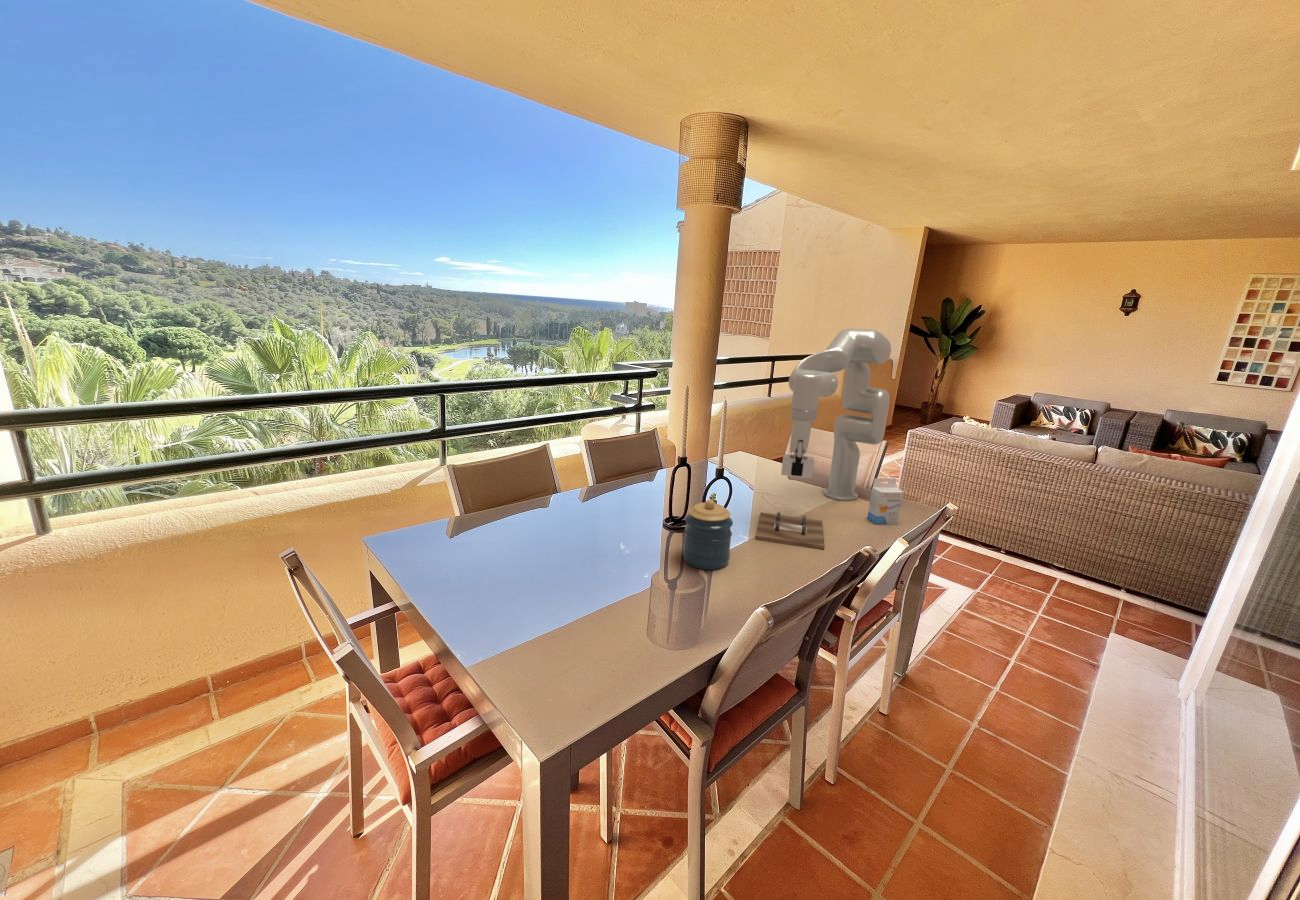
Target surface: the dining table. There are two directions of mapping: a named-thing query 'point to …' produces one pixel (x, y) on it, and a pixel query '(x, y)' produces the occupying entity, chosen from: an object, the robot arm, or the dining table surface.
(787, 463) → the drive
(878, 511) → the ink box
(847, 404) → the robot arm
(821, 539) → the pin tray
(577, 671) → the dining table surface
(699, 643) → the dining table surface
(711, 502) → the canister
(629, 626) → the dining table surface
